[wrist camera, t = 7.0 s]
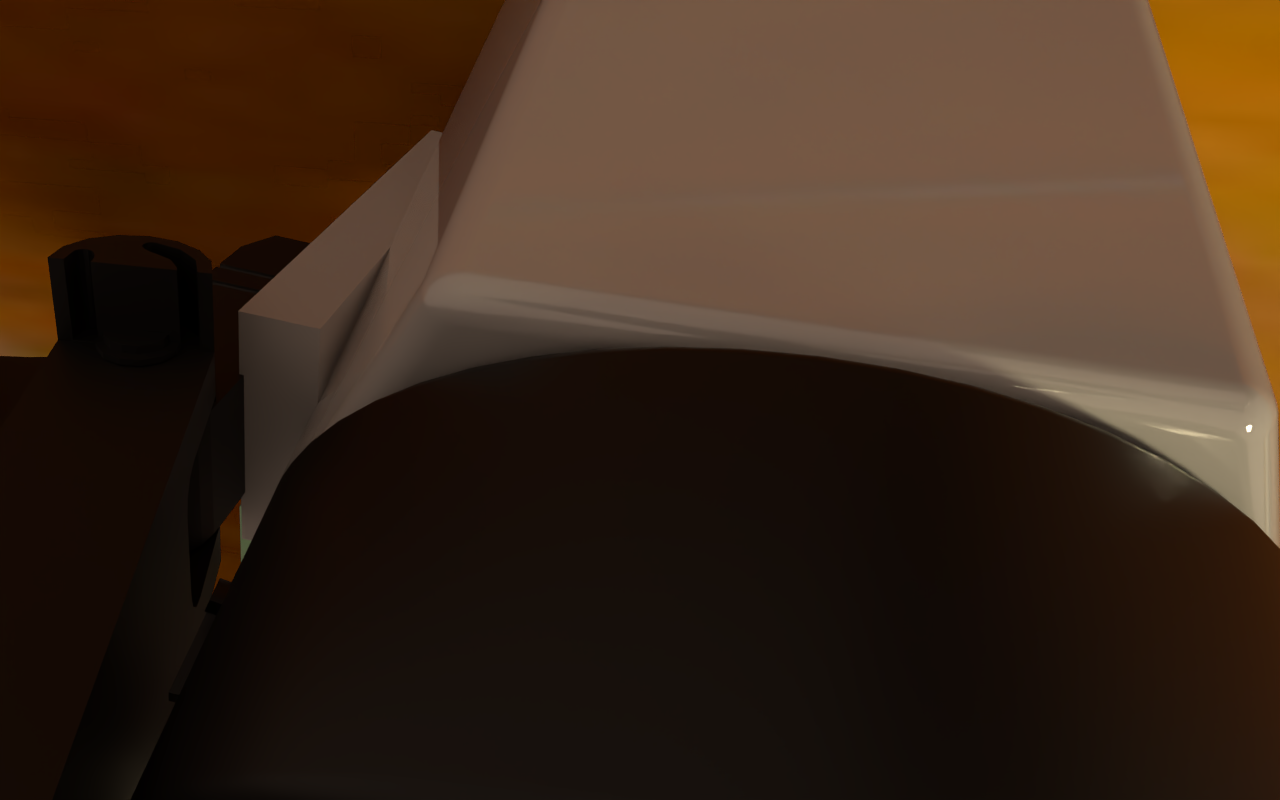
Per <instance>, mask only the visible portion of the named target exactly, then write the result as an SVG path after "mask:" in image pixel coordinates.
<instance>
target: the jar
mask: <svg viewBox="0 0 1280 800" xmlns="http://www.w3.org/2000/svg"><path fill="white" fill-rule="evenodd" d="M205 612H206V615H205V617H204V619H203V621H202V623H201V625H200V627H199V630H198V632H197V634H196V636H195V638H194V640H193V642H192V644H191V646H190V648H189V651H188V653H187V655H186V657H185V659H184V661H183V663H182V665H181V667H180V669H179V672H178V674H177V676H176V678H175V680H174V682H173V684H172V686H171V688H170V690H169V694H168V697H169V701H171V702H175V705H174V707H173V709H172V711H171V714H170V716H169V718H168V720H167V722H166V724H165V727H164V729H163V731H162V733H161V735H160V737H159V739H158V742H157V744H156V746H155V748H154V750H153V752H152V754H151V757H150V759H149V761H148V763H147V765H146V767H145V769H144V772H143V774H142V776H141V778H140V780H139V782H138V784H137V787H136V789H135V791H134V793H133V795H132V797H131V799H130V800H1280V504H1279V413H1278V407H1277V401H1276V398H1275V395H1274V392H1273V389H1272V386H1271V383H1270V379H1269V376H1268V373H1267V370H1266V367H1265V364H1264V361H1263V358H1262V354H1261V351H1260V348H1259V345H1258V342H1257V339H1256V336H1255V333H1254V330H1253V326H1252V323H1251V320H1250V317H1249V314H1248V311H1247V308H1246V305H1245V302H1244V298H1243V295H1242V292H1241V289H1240V286H1239V283H1238V280H1237V277H1236V273H1235V270H1234V267H1233V264H1232V261H1231V258H1230V255H1229V252H1228V249H1227V245H1226V242H1225V239H1224V236H1223V233H1222V230H1221V227H1220V224H1219V221H1218V217H1217V214H1216V211H1215V208H1214V205H1213V202H1212V199H1211V196H1210V192H1209V189H1208V186H1207V183H1206V180H1205V177H1204V174H1203V171H1202V168H1201V164H1200V161H1199V158H1198V155H1197V152H1196V149H1195V146H1194V143H1193V140H1192V136H1191V133H1190V130H1189V127H1188V124H1187V121H1186V118H1185V114H1184V111H1183V108H1182V105H1181V102H1180V99H1179V96H1178V93H1177V89H1176V86H1175V83H1174V80H1173V77H1172V74H1171V71H1170V67H1169V64H1168V61H1167V58H1166V55H1165V52H1164V49H1163V45H1162V42H1161V39H1160V36H1159V33H1158V30H1157V27H1156V24H1155V20H1154V17H1153V14H1152V11H1151V8H1150V5H1149V2H1148V0H505V2H504V4H503V5H502V7H501V10H500V12H499V14H498V16H497V18H496V20H495V22H494V24H493V27H492V29H491V31H490V33H489V35H488V37H487V39H486V42H485V44H484V46H483V48H482V50H481V52H480V54H479V57H478V59H477V61H476V63H475V65H474V67H473V69H472V71H471V74H470V76H469V78H468V80H467V82H466V84H465V86H464V89H463V91H462V93H461V95H460V97H459V99H458V101H457V103H456V106H455V108H454V110H453V112H452V114H451V116H450V118H449V121H448V123H447V125H446V127H445V129H444V131H443V133H442V136H441V138H440V140H439V142H438V144H437V146H436V148H435V150H434V153H433V155H432V157H431V159H430V161H429V163H428V165H427V168H426V170H425V172H424V174H423V176H422V178H421V180H420V182H419V185H418V187H417V189H416V191H415V193H414V195H413V197H412V200H411V202H410V204H409V206H408V208H407V210H406V212H405V215H404V217H403V219H402V221H401V223H400V225H399V227H398V229H397V232H396V234H395V236H394V239H393V241H392V244H391V247H390V249H389V251H388V253H387V255H386V257H385V260H384V262H383V264H382V266H381V268H380V270H379V272H378V275H377V277H376V279H375V281H374V283H373V285H372V287H371V290H370V292H369V294H368V296H367V298H366V300H365V303H364V305H363V307H362V309H361V311H360V313H359V315H358V318H357V320H356V322H355V324H354V326H353V328H352V331H351V333H350V335H349V337H348V339H347V341H346V343H345V346H344V348H343V350H342V352H341V354H340V356H339V359H338V361H337V363H336V365H335V367H334V369H333V371H332V374H331V376H330V378H329V380H328V382H327V384H326V386H325V389H324V391H323V393H322V395H321V397H320V399H319V402H318V404H317V405H316V407H315V409H314V411H313V413H312V414H311V416H310V418H309V420H308V422H307V424H306V426H305V428H304V430H303V432H302V434H301V437H300V439H299V441H298V443H297V445H296V447H295V449H294V452H293V454H292V456H291V458H290V460H289V462H288V464H287V466H286V469H285V471H284V473H283V475H282V477H281V479H280V481H279V484H278V486H277V488H276V490H275V492H274V494H273V496H272V498H271V500H270V503H269V505H268V507H267V509H266V511H265V513H264V515H263V517H262V519H261V522H260V524H259V526H258V528H257V530H256V532H255V534H254V536H253V539H252V541H251V543H250V545H249V547H248V549H247V551H246V553H245V555H244V558H243V560H242V562H241V564H240V566H239V568H238V570H237V572H236V574H235V577H234V579H233V581H232V582H229V581H226V580H223V579H219V581H218V584H217V586H216V588H215V590H214V592H213V594H212V596H211V598H210V600H209V602H208V604H207V607H206V609H205Z"/></svg>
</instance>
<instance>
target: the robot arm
mask: <svg viewBox="0 0 1280 800" xmlns="http://www.w3.org/2000/svg"><path fill="white" fill-rule="evenodd" d="M441 136H442V132H438V131H433V130H431V131H430V132H429V133H428V134H427V135H426V136H425V137H424V138H422V139H421V140H420V141H419V142H418V143H417V144H416V145H415V146H414V147H413V148H412V149H411V150H410V151H409V152H408V153H406V154H405V155H404V156H403V157H402V158H401V159H400V160H399V161H398V162H397V163H396V164H395V165H394V166H393V167H392V168H390V169H389V170H388V171H387V172H386V173H385V174H384V175H383V176H382V177H381V178H380V179H379V180H378V181H377V182H376V183H374V184H373V185H372V186H371V187H370V188H369V189H368V190H367V191H366V192H365V193H364V194H363V195H362V196H361V197H360V198H358V199H357V200H356V201H355V202H354V203H353V204H352V205H351V206H350V207H349V208H348V209H347V210H346V211H345V212H344V213H342V214H341V215H340V216H339V217H338V218H337V219H336V220H335V221H334V222H333V223H332V224H331V225H330V226H329V227H328V228H326V229H325V230H324V231H323V232H322V233H321V234H320V235H319V236H318V237H317V238H316V239H315V240H314V241H313V242H311V243H307V242H302V241H298V240H293V239H289V238H284V237H280V236H273V237H270V238H267V239H263V240H260V241H257V242H254V243H251V244H248V245H245V246H242V247H240V248H239V249H238V250H237V251H235V252H234V253H233V254H232V255H230V256H229V257H228V258H227V259H225V260H224V261H223V262H222V263H221V264H220V268H219V267H216V268H214V269H213V270H212V264H211V261H210V260H209V259H208V258H207V257H206V256H205V255H204V254H203V253H202V252H200V251H199V250H197V249H195V248H192V247H190V246H187V245H185V244H182V243H180V242H178V241H172V240H167V239H162V238H156V237H151V236H128V235H116V236H107V237H98V238H89V239H85V240H82V241H79V242H76V243H72V244H69V245H66V246H63V247H62V248H60V249H59V250H57V251H56V252H55V253H53V254H52V255H50V256H49V257H48V264H49V272H50V280H51V288H52V295H53V303H54V311H55V319H56V327H57V335H58V341H57V343H56V344H55V346H54V347H53V349H52V350H51V352H50V353H49V355H48V356H47V357H11V356H0V800H130V799H131V797H132V795H133V793H134V791H135V789H136V787H137V784H138V782H139V780H140V778H141V776H142V774H143V772H144V769H145V767H146V765H147V763H148V761H149V759H150V757H151V754H152V752H153V750H154V748H155V746H156V744H157V742H158V739H159V737H160V735H161V733H162V731H163V729H164V727H165V724H166V722H167V720H168V718H169V716H170V714H171V711H172V709H173V707H174V705H175V702H171V701H169V697H168V694H169V690H170V688H171V686H172V684H173V682H174V680H175V678H176V676H177V674H178V672H179V669H180V667H181V665H182V663H183V661H184V659H185V657H186V655H187V653H188V651H189V648H190V646H191V644H192V642H193V640H194V638H195V636H196V634H197V632H198V630H199V627H200V625H201V623H202V621H203V619H204V617H205V615H206V612H205V609H206V607H207V604H208V602H209V600H210V598H211V596H212V593H213V589H214V585H215V581H216V577H217V573H218V569H219V565H220V562H221V549H220V525H221V524H222V523H223V521H224V520H225V519H226V517H227V516H228V515H229V513H230V512H231V511H232V509H233V508H234V507H235V505H236V504H237V503H238V501H239V500H240V499H241V523H242V539H246V540H250V541H252V539H253V536H254V534H255V532H256V530H257V528H258V526H259V524H260V522H261V519H262V517H263V515H264V513H265V511H266V509H267V507H268V505H269V503H270V500H271V498H272V496H273V494H274V492H275V490H276V488H277V486H278V484H279V481H280V479H281V477H282V475H283V473H284V471H285V469H286V466H287V464H288V462H289V460H290V458H291V456H292V454H293V452H294V449H295V447H296V445H297V443H298V441H299V439H300V437H301V434H302V432H303V430H304V428H305V426H306V424H307V422H308V420H309V418H310V416H311V414H312V413H313V411H314V409H315V407H316V405H317V404H318V402H319V399H320V397H321V395H322V393H323V391H324V389H325V386H326V384H327V382H328V380H329V378H330V376H331V374H332V371H333V369H334V367H335V365H336V363H337V361H338V359H339V356H340V354H341V352H342V350H343V348H344V346H345V343H346V341H347V339H348V337H349V335H350V333H351V331H352V328H353V326H354V324H355V322H356V320H357V318H358V315H359V313H360V311H361V309H362V307H363V305H364V303H365V300H366V298H367V296H368V294H369V292H370V290H371V287H372V285H373V283H374V281H375V279H376V277H377V275H378V272H379V270H380V268H381V266H382V264H383V262H384V260H385V257H386V255H387V253H388V251H389V249H390V247H391V244H392V241H393V239H394V236H395V234H396V232H397V229H398V227H399V225H400V223H401V221H402V219H403V217H404V215H405V212H406V210H407V208H408V206H409V204H410V202H411V200H412V197H413V195H414V193H415V191H416V189H417V187H418V185H419V182H420V180H421V178H422V176H423V174H424V172H425V170H426V168H427V165H428V163H429V161H430V159H431V157H432V155H433V153H434V150H435V148H436V146H437V144H438V142H439V140H440V138H441Z"/></svg>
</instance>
